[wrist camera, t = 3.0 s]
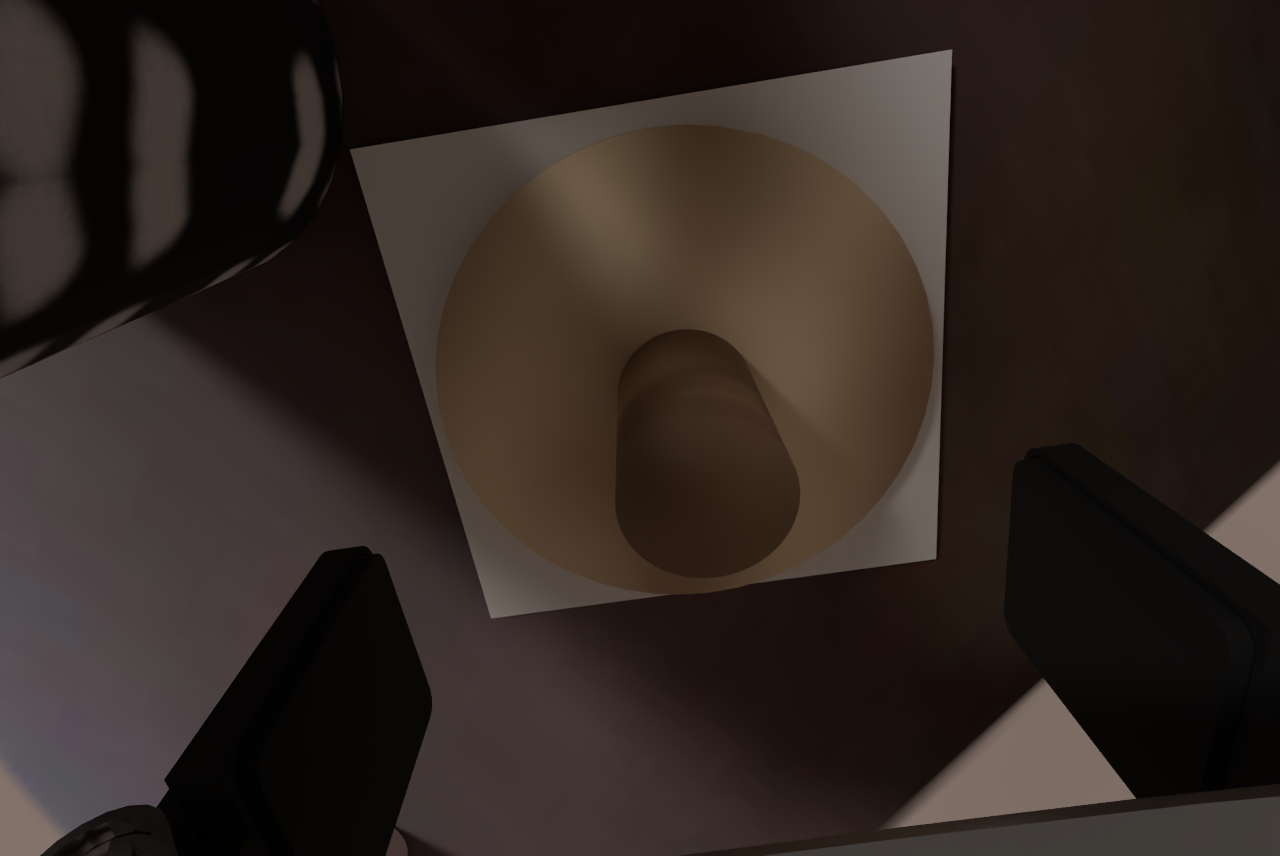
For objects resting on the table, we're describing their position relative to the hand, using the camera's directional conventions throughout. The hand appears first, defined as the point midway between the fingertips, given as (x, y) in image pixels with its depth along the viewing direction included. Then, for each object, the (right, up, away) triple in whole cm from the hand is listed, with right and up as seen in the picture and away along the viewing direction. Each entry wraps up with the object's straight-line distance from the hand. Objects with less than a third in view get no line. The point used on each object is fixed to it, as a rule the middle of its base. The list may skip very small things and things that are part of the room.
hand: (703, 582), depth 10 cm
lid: (0, +3, +6) cm, 7 cm away
